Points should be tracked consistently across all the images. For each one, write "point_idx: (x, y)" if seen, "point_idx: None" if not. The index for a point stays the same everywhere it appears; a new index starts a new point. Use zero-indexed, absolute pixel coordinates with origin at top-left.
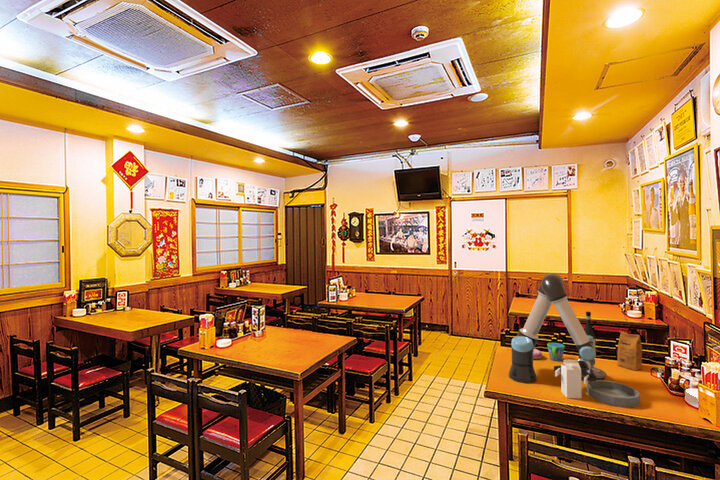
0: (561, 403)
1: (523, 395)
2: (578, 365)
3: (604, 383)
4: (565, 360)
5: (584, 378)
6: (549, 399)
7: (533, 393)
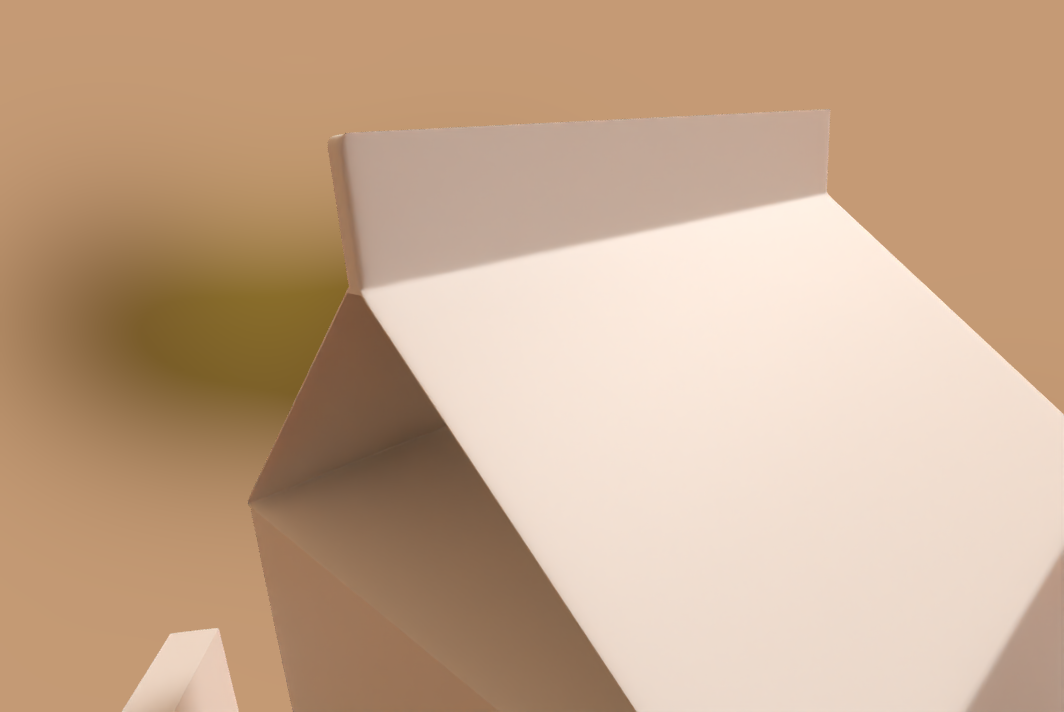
0: None
1: None
2: (338, 392)
3: None
4: (781, 144)
5: (202, 634)
6: None
7: None
